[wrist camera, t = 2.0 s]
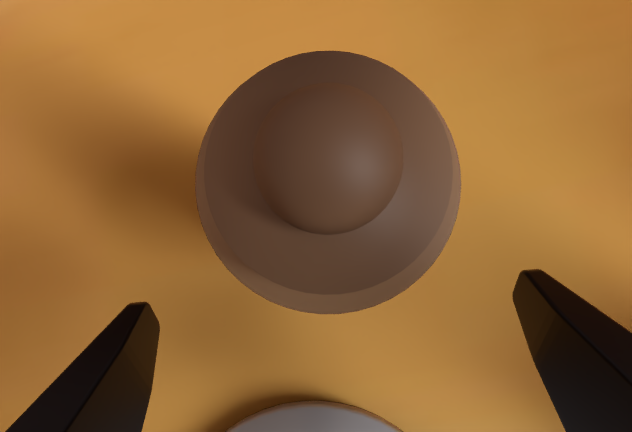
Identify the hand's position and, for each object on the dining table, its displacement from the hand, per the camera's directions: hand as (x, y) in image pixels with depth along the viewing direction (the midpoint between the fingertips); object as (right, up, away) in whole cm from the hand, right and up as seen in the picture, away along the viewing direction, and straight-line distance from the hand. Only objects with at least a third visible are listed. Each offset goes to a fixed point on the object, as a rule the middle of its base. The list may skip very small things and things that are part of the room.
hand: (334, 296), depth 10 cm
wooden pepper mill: (0, +1, +10) cm, 10 cm away
